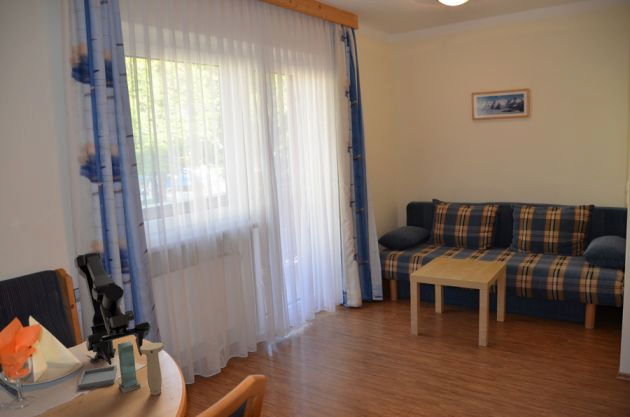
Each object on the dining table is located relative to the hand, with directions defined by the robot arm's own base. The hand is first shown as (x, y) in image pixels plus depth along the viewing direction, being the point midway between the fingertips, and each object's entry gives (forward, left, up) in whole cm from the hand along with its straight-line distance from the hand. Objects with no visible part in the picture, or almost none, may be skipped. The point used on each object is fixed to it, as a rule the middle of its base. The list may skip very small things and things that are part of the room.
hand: (126, 359), depth 156 cm
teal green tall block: (+1, 0, -9) cm, 9 cm away
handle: (+8, +8, -9) cm, 14 cm away
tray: (-8, -10, -9) cm, 16 cm away
